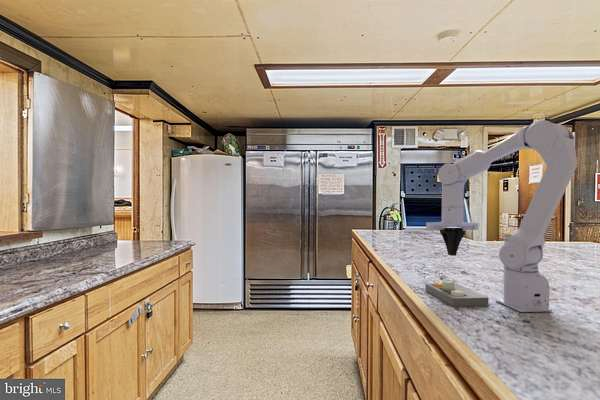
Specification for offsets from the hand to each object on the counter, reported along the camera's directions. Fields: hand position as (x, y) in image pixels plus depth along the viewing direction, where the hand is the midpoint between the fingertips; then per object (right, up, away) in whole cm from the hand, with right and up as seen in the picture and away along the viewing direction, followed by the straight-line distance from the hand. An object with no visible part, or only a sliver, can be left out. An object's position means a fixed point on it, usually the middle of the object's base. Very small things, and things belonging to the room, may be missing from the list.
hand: (452, 255), depth 106 cm
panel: (-3, -10, -8) cm, 13 cm away
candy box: (+26, -10, +13) cm, 31 cm away
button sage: (-4, -8, -8) cm, 12 cm away
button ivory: (-4, -10, -12) cm, 16 cm away
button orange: (-5, -10, -3) cm, 11 cm away
